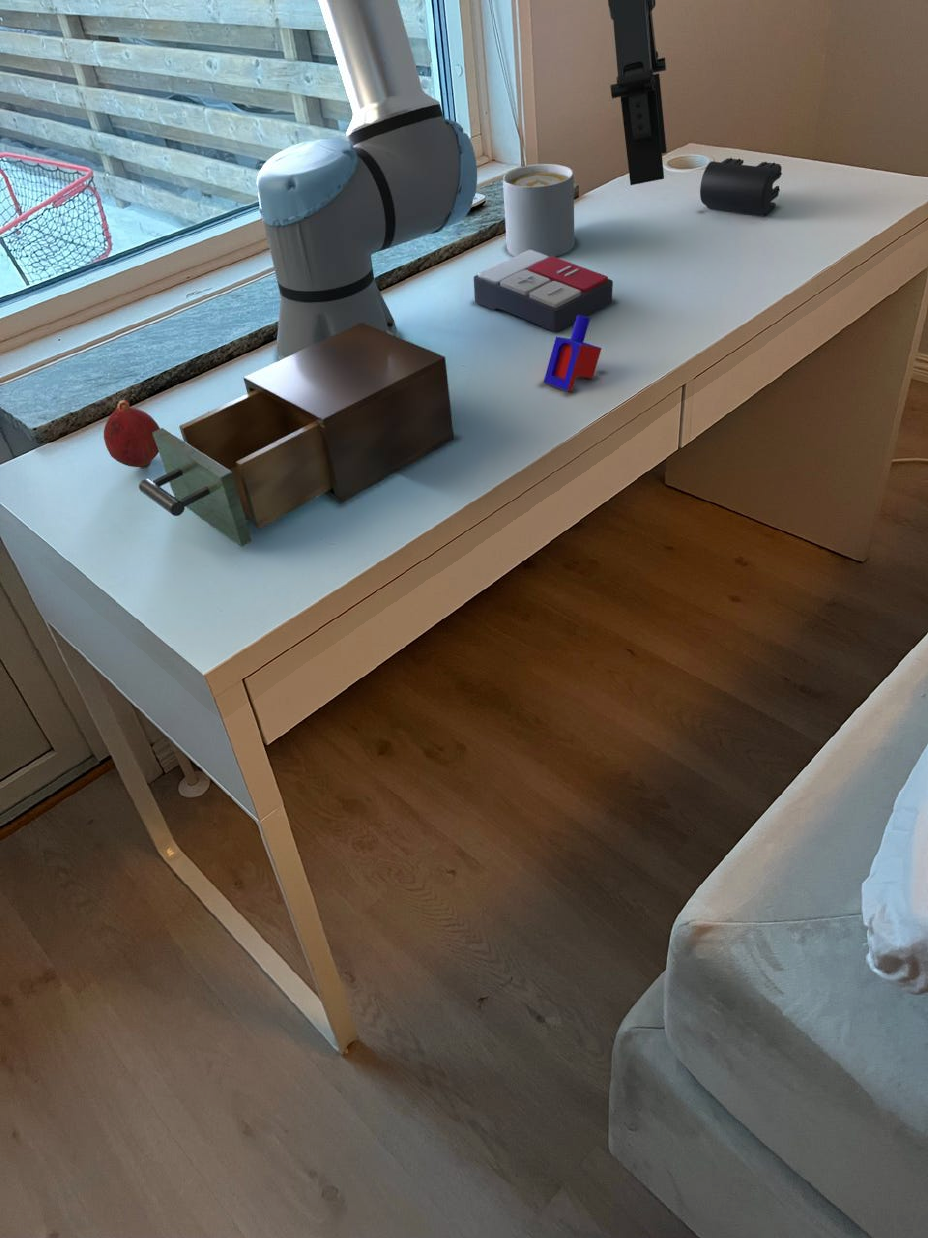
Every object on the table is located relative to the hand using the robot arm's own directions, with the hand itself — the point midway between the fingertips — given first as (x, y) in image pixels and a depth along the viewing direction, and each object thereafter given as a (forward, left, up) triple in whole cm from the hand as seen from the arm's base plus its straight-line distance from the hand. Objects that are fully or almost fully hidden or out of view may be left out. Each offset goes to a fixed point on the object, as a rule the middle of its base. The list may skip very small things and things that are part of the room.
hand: (649, 167), depth 84 cm
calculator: (-30, +17, -26) cm, 43 cm away
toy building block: (-13, +4, -26) cm, 30 cm away
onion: (-37, -39, -26) cm, 60 cm away
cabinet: (-21, -22, -26) cm, 40 cm away
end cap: (-28, +58, -26) cm, 70 cm away
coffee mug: (-44, +33, -26) cm, 61 cm away
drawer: (-21, -35, -25) cm, 48 cm away
